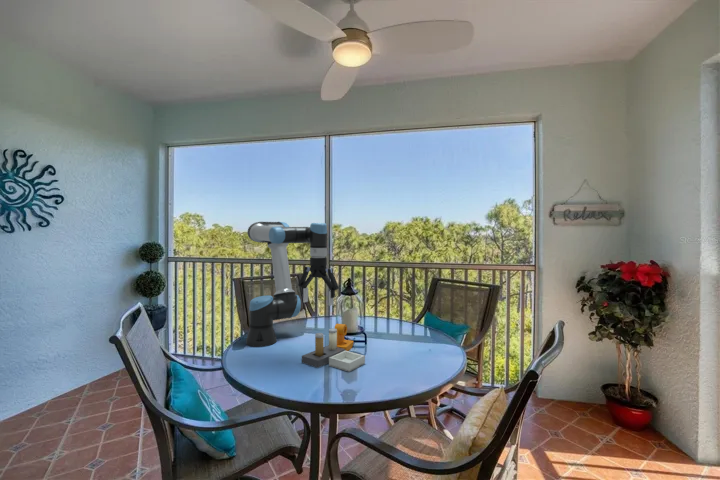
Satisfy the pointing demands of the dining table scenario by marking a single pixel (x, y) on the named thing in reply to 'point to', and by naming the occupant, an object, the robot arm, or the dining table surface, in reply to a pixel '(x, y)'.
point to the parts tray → (347, 361)
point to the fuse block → (328, 352)
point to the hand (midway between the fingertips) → (318, 303)
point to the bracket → (340, 337)
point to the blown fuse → (319, 344)
